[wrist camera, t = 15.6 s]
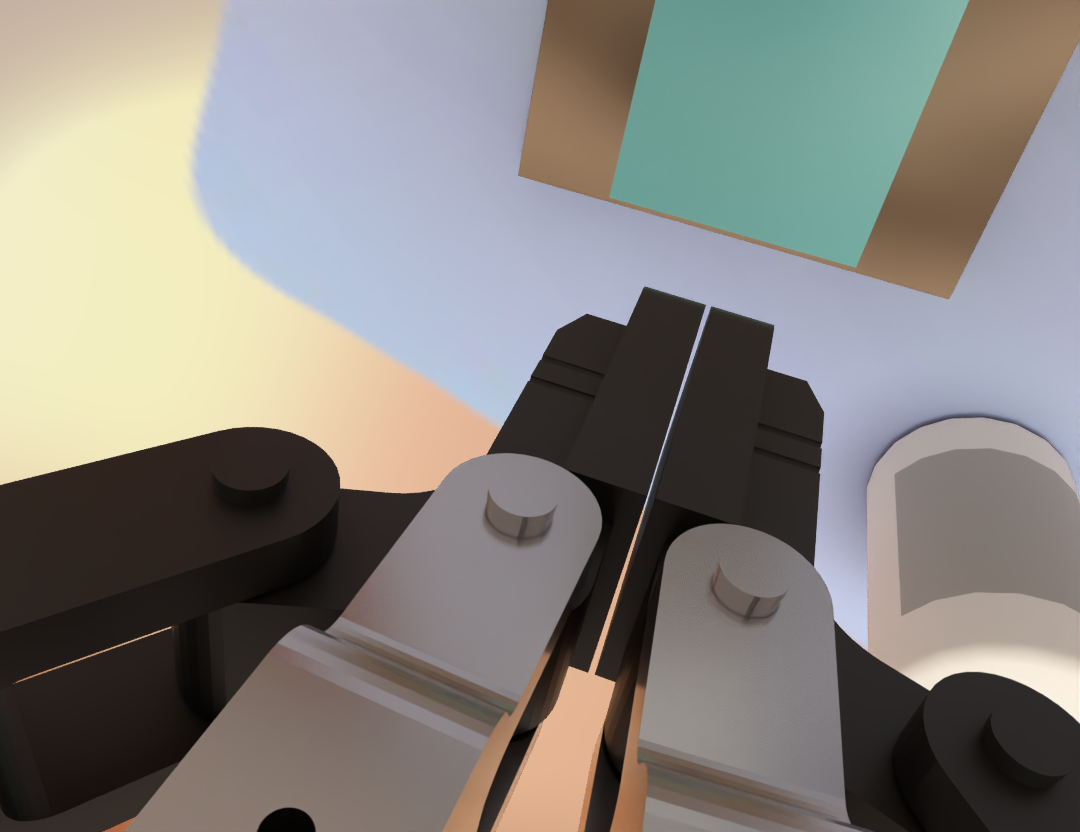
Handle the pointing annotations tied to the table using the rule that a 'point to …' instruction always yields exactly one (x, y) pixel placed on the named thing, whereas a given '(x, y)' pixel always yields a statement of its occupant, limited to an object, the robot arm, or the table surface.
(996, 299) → the table surface
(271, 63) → the table surface
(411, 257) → the table surface
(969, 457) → the spray bottle
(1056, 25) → the board
